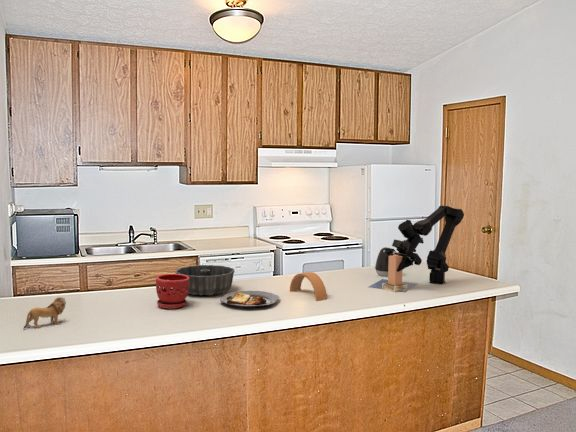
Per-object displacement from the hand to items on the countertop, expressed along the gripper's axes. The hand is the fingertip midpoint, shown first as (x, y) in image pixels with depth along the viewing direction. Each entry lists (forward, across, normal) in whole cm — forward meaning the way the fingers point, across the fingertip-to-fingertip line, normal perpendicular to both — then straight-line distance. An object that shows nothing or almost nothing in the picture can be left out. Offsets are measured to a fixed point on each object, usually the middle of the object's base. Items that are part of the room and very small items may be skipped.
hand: (393, 270), depth 227 cm
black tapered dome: (-7, -24, +21) cm, 33 cm away
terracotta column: (+4, 0, +6) cm, 7 cm away
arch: (+34, -14, -20) cm, 42 cm away
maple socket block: (+6, 0, +7) cm, 9 cm away
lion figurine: (+106, -30, -93) cm, 144 cm away
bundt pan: (+59, -44, -45) cm, 86 cm away
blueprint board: (+2, -6, +11) cm, 13 cm away
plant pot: (+73, -29, -60) cm, 99 cm away
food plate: (+53, -18, -39) cm, 68 cm away
